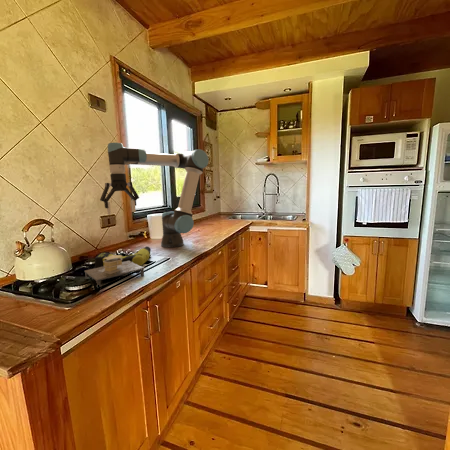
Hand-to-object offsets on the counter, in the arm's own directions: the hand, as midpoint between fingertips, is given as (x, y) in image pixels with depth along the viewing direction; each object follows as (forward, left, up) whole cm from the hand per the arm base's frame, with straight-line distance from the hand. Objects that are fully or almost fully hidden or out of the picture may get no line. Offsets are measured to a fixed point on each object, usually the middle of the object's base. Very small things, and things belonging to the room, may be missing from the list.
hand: (122, 213), depth 136 cm
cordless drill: (+1, +4, -27) cm, 27 cm away
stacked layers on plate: (+16, +25, -22) cm, 37 cm away
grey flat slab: (+15, +25, -26) cm, 40 cm away
